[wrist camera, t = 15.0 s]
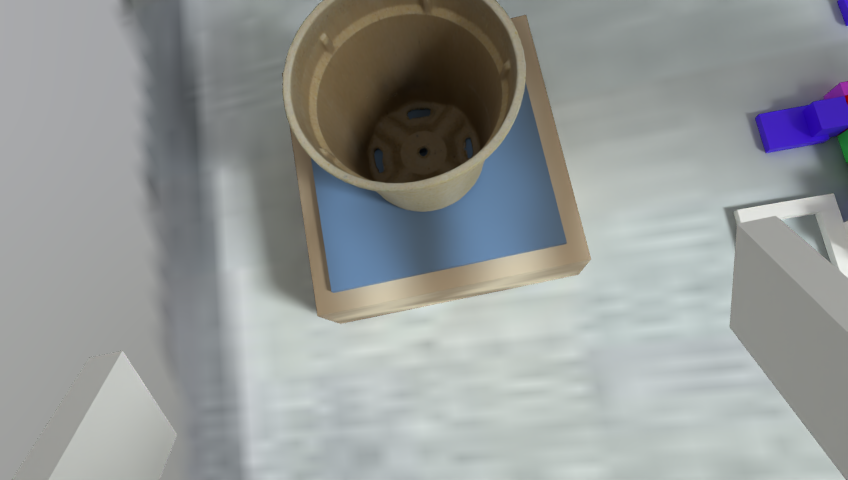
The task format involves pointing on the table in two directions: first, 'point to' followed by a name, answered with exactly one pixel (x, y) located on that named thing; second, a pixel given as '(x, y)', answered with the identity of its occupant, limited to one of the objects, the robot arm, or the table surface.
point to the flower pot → (404, 93)
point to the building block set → (802, 126)
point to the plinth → (447, 223)
